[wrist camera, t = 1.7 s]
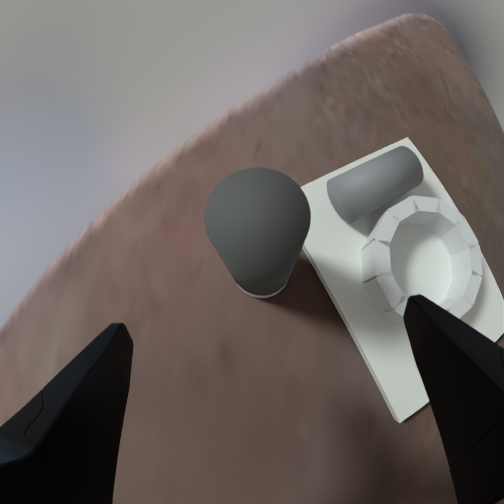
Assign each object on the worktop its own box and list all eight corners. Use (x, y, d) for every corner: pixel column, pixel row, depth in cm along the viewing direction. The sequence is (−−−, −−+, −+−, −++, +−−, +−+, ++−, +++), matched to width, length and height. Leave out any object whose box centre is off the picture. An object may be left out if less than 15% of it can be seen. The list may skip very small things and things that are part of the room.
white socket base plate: (505, 323, 18) (537, 319, 14) (394, 419, 17) (419, 435, 13) (403, 143, 22) (421, 115, 18) (276, 205, 21) (278, 177, 17)
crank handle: (300, 281, 20) (330, 235, 10) (250, 308, 20) (234, 287, 10) (273, 233, 21) (277, 152, 11) (224, 259, 20) (187, 196, 11)
